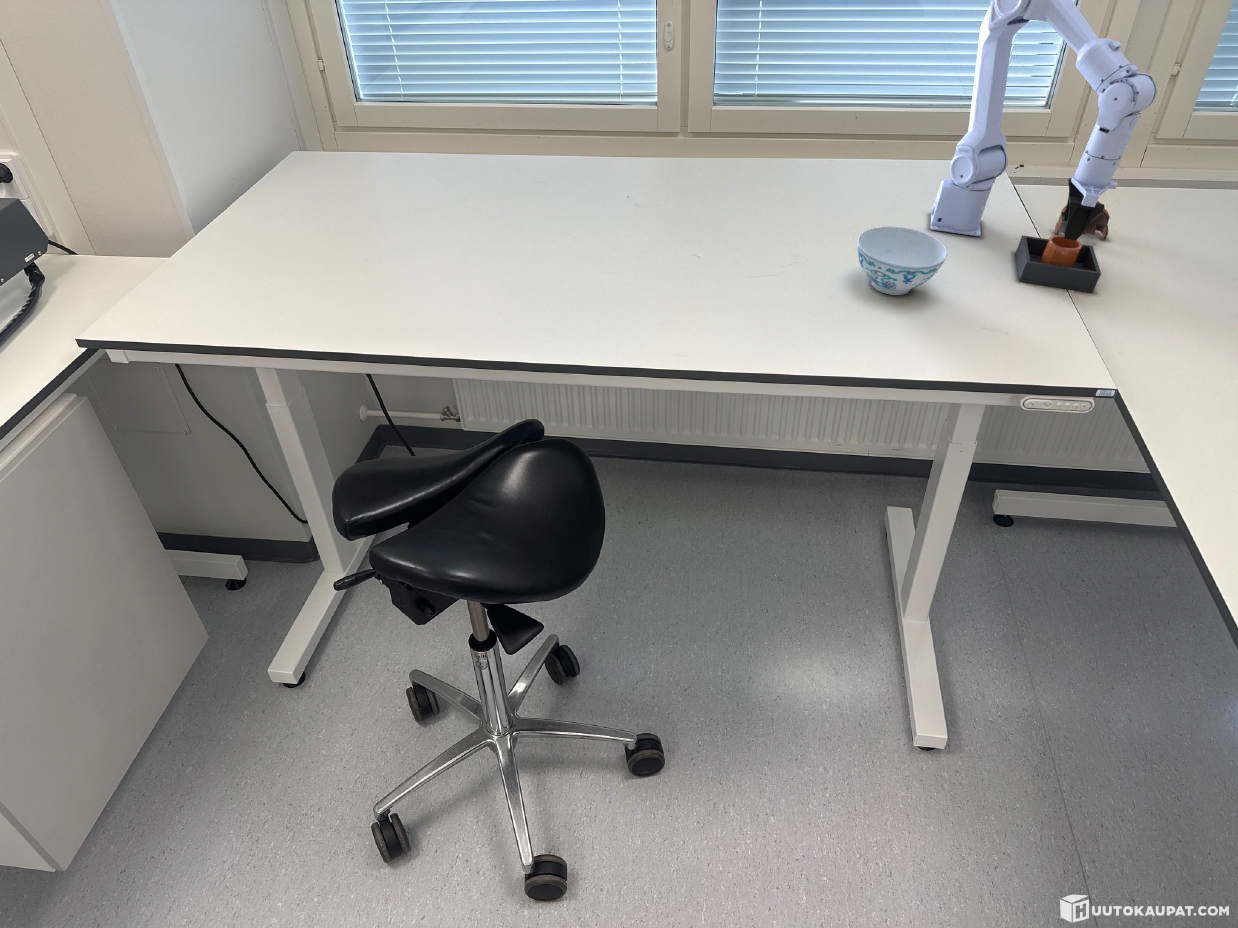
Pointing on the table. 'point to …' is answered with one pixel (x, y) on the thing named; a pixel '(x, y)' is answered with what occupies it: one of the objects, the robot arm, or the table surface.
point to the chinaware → (899, 258)
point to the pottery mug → (1096, 224)
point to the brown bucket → (1061, 251)
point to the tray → (1056, 267)
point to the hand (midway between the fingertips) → (1070, 230)
